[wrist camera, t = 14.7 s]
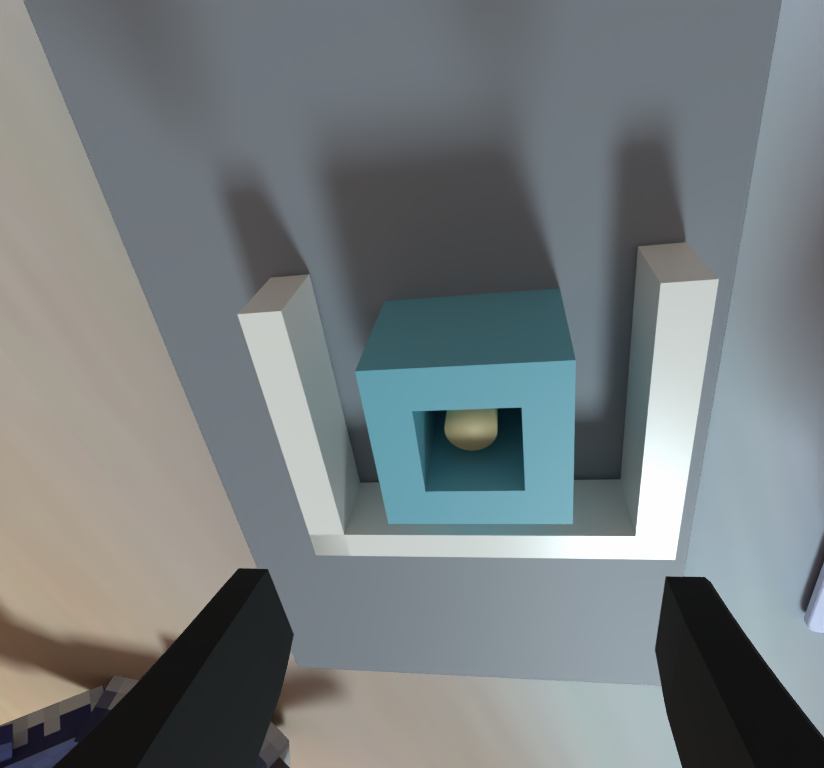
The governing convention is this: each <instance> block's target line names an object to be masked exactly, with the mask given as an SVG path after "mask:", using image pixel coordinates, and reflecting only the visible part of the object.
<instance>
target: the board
mask: <svg viewBox="0 0 824 768" xmlns="http://www.w3.org/2000/svg"><path fill="white" fill-rule="evenodd" d="M781 1H782V0H25V1H24V3H25V6H26V8H27V11H28V13H29V16H30V18H31V20H32V23H33V25H34V28H35V30H36V33H37V35H38V37H39V40H40V42H41V45H42V47H43V49H44V52H45V54H46V57H47V59H48V62H49V64H50V66H51V69H52V71H53V74H54V76H55V79H56V81H57V83H58V86H59V88H60V91H61V93H62V96H63V98H64V100H65V103H66V105H67V108H68V110H69V113H70V115H71V117H72V120H73V122H74V125H75V127H76V130H77V132H78V134H79V137H80V139H81V142H82V144H83V146H84V149H85V151H86V154H87V156H88V159H89V161H90V163H91V166H92V168H93V171H94V173H95V176H96V178H97V180H98V183H99V185H100V188H101V190H102V193H103V195H104V197H105V200H106V202H107V205H108V207H109V210H110V212H111V214H112V217H113V219H114V222H115V224H116V227H117V229H118V231H119V234H120V236H121V239H122V241H123V244H124V246H125V248H126V251H127V253H128V256H129V258H130V260H131V263H132V265H133V268H134V270H135V273H136V275H137V277H138V280H139V282H140V285H141V287H142V290H143V292H144V294H145V297H146V299H147V302H148V304H149V307H150V309H151V311H152V314H153V316H154V319H155V321H156V324H157V326H158V328H159V331H160V333H161V336H162V338H163V341H164V343H165V345H166V348H167V350H168V353H169V355H170V358H171V360H172V362H173V365H174V367H175V370H176V372H177V374H178V377H179V379H180V382H181V384H182V387H183V389H184V391H185V394H186V396H187V399H188V401H189V404H190V406H191V408H192V411H193V413H194V416H195V418H196V421H197V423H198V425H199V428H200V430H201V433H202V435H203V438H204V440H205V442H206V445H207V447H208V450H209V452H210V455H211V457H212V459H213V462H214V464H215V467H216V469H217V471H218V474H219V476H220V479H221V481H222V484H223V486H224V488H225V491H226V493H227V496H228V498H229V501H230V503H231V505H232V508H233V510H234V513H235V515H236V518H237V520H238V522H239V525H240V527H241V530H242V532H243V535H244V537H245V539H246V542H247V544H248V547H249V549H250V552H251V554H252V556H253V559H254V561H255V564H256V566H257V569H268V570H269V573H270V575H271V578H272V580H273V583H274V585H275V588H276V591H277V593H278V596H279V598H280V601H281V603H282V606H283V608H284V611H285V613H286V616H287V618H288V621H289V623H290V626H291V628H292V631H293V633H294V636H293V641H292V646H291V651H292V653H293V656H294V658H295V661H296V663H297V666H298V667H303V668H322V669H342V670H361V671H381V672H400V673H420V674H439V675H459V676H478V677H498V678H518V679H537V680H557V681H576V682H596V683H615V684H635V685H654V686H661V681H660V675H659V670H658V664H657V659H656V653H655V645H656V638H657V632H658V625H659V618H660V611H661V605H662V598H663V591H664V584H665V577H666V576H671V577H683V575H684V569H685V563H686V558H687V552H688V546H689V540H690V534H691V528H692V522H693V517H694V511H695V505H696V499H697V493H698V487H699V481H700V476H701V470H702V464H703V458H704V452H705V446H706V440H707V435H708V429H709V423H710V417H711V411H712V405H713V399H714V394H715V388H716V382H717V376H718V370H719V364H720V358H721V353H722V347H723V341H724V335H725V329H726V323H727V318H728V312H729V306H730V300H731V294H732V288H733V282H734V277H735V271H736V265H737V259H738V253H739V247H740V241H741V236H742V230H743V224H744V218H745V212H746V206H747V200H748V195H749V189H750V183H751V177H752V171H753V165H754V159H755V154H756V148H757V142H758V136H759V130H760V124H761V118H762V113H763V107H764V101H765V95H766V89H767V83H768V77H769V72H770V66H771V60H772V54H773V48H774V42H775V36H776V31H777V25H778V19H779V13H780V7H781ZM683 242H688V243H689V245H690V246H691V247H692V248H693V249H694V250H695V252H696V253H697V254H698V255H699V256H700V257H701V259H702V260H703V261H704V262H705V263H706V264H707V266H708V267H709V268H710V269H711V270H712V272H713V273H714V274H715V275H716V276H717V277H718V279H719V282H718V288H717V295H716V301H715V308H714V314H713V320H712V327H711V333H710V340H709V346H708V352H707V359H706V365H705V372H704V378H703V384H702V391H701V397H700V404H699V410H698V417H697V423H696V429H695V436H694V442H693V449H692V455H691V461H690V468H689V474H688V481H687V487H686V493H685V500H684V506H683V513H682V519H681V526H680V532H679V538H678V545H677V551H676V558H675V560H650V559H568V558H486V557H404V556H322V555H316V554H315V551H314V548H313V545H312V542H311V538H310V535H309V532H308V529H307V526H306V523H305V520H304V517H303V514H302V511H301V508H300V505H299V502H298V499H297V496H296V493H295V489H294V486H293V483H292V480H291V477H290V474H289V471H288V468H287V465H286V462H285V459H284V456H283V453H282V450H281V447H280V444H279V440H278V437H277V434H276V431H275V428H274V425H273V422H272V419H271V416H270V413H269V410H268V407H267V404H266V401H265V398H264V395H263V391H262V388H261V385H260V382H259V379H258V376H257V373H256V370H255V367H254V364H253V361H252V358H251V355H250V352H249V349H248V346H247V342H246V339H245V336H244V333H243V330H242V327H241V324H240V321H239V318H238V315H237V314H238V313H239V312H240V311H241V310H242V309H243V307H244V306H245V305H246V304H247V303H248V302H249V301H250V300H251V299H252V298H253V296H254V295H255V294H256V293H257V292H258V291H259V290H260V289H261V288H262V287H263V285H264V284H265V283H266V282H267V281H268V280H269V279H270V278H272V277H283V276H295V275H307V274H310V278H311V282H312V287H313V291H314V295H315V299H316V303H317V307H318V311H319V315H320V319H321V324H322V328H323V332H324V336H325V340H326V344H327V348H328V352H329V356H330V361H331V365H332V369H333V373H334V377H335V381H336V385H337V389H338V393H339V397H340V402H341V406H342V410H343V414H344V418H345V422H346V426H347V430H348V434H349V439H350V443H351V447H352V451H353V455H354V459H355V463H356V467H357V471H358V476H359V480H360V483H370V482H379V479H378V474H377V469H376V465H375V460H374V456H373V451H372V447H371V442H370V438H369V433H368V428H367V424H366V419H365V415H364V410H363V406H362V401H361V396H360V392H359V387H358V383H357V378H356V374H355V370H356V368H357V365H358V363H359V361H360V358H361V356H362V353H363V351H364V349H365V346H366V344H367V342H368V339H369V337H370V334H371V332H372V330H373V327H374V325H375V323H376V320H377V318H378V316H379V313H380V311H381V308H382V306H383V304H384V301H393V300H407V299H421V298H434V297H448V296H462V295H476V294H489V293H503V292H517V291H530V290H544V289H558V288H560V291H561V296H562V300H563V305H564V309H565V314H566V318H567V323H568V327H569V332H570V336H571V341H572V345H573V350H574V354H575V359H576V377H575V432H574V480H605V479H621V467H622V454H623V440H624V427H625V413H626V400H627V386H628V373H629V359H630V346H631V332H632V319H633V306H634V292H635V279H636V265H637V252H638V246H648V245H660V244H671V243H683ZM497 428H498V408H493V409H465V410H447V413H446V420H445V427H444V430H445V434H446V437H447V439H448V440H449V441H450V442H451V443H452V444H453V445H455V446H456V447H458V448H460V449H464V450H469V451H475V450H481V449H484V448H486V447H488V446H489V445H490V444H492V443H493V441H494V440H495V438H496V436H497Z"/></svg>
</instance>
